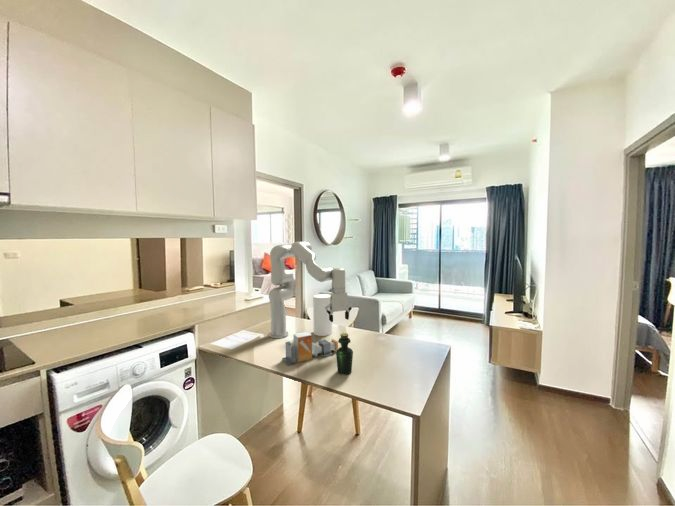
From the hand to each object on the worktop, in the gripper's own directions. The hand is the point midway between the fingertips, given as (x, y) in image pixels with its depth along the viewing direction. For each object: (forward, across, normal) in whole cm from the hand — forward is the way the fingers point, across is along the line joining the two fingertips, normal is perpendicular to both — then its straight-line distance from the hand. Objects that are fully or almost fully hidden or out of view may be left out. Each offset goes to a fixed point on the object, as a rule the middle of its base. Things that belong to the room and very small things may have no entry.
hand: (339, 320), depth 160 cm
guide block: (+17, -10, -1) cm, 19 cm away
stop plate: (+17, -30, -3) cm, 34 cm away
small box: (+17, -22, -2) cm, 28 cm away
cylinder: (+17, +2, +31) cm, 35 cm away
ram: (+16, -10, -1) cm, 19 cm away
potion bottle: (+17, -9, -25) cm, 32 cm away
